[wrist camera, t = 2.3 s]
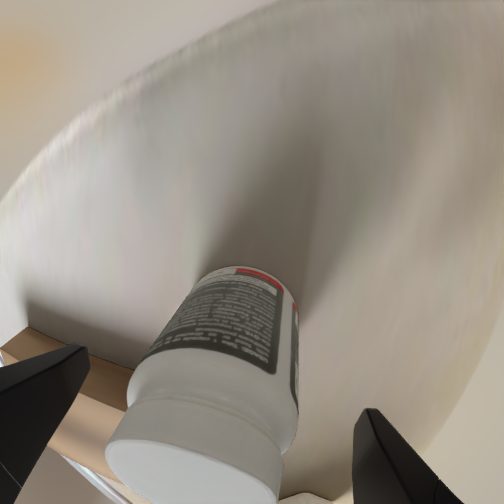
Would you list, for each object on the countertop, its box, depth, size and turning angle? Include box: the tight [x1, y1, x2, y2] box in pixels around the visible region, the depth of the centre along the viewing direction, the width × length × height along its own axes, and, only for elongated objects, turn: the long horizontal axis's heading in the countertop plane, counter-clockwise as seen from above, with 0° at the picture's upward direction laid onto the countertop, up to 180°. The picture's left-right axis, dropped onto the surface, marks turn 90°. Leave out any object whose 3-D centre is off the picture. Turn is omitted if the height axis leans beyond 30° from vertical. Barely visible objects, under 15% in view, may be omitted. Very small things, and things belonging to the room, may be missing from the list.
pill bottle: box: [105, 266, 299, 504], centre depth 9 cm, size 5×5×8 cm
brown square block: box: [0, 327, 134, 485], centre depth 15 cm, size 10×10×3 cm
